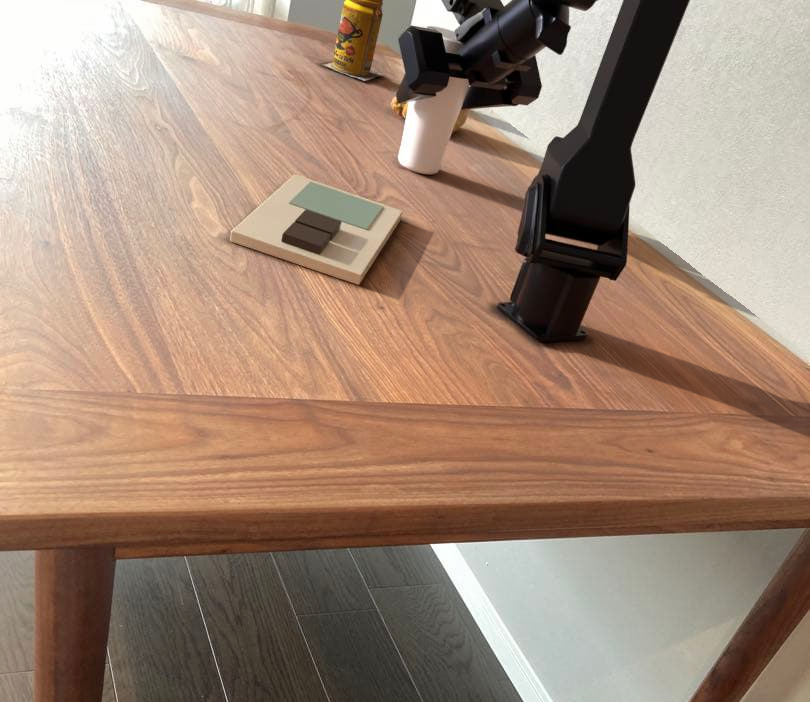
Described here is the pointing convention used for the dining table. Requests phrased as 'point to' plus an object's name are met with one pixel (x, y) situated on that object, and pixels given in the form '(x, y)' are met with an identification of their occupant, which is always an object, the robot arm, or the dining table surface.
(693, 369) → the dining table surface
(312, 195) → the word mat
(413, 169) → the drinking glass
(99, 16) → the dining table surface
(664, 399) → the dining table surface
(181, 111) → the dining table surface
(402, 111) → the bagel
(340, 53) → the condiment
